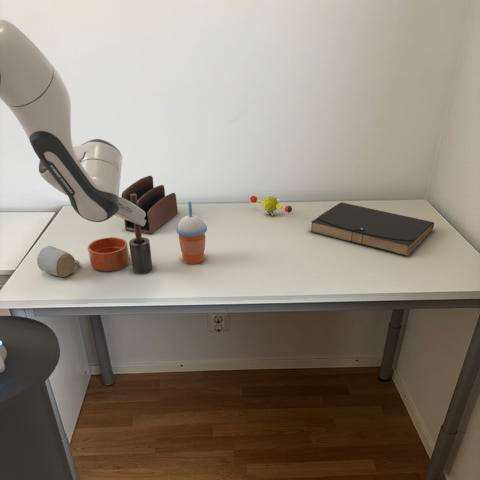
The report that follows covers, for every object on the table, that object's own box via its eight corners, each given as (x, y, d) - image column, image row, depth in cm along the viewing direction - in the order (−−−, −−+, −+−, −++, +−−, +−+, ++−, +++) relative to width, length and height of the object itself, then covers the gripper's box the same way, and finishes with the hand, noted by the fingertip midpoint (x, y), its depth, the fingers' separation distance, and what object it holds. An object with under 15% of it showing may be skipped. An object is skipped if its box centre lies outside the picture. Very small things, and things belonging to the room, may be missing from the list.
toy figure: (295, 218, 180) (296, 200, 176) (286, 223, 177) (287, 204, 173) (256, 207, 190) (256, 189, 186) (246, 211, 186) (246, 193, 183)
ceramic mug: (60, 282, 144) (55, 257, 139) (39, 275, 147) (33, 251, 143) (87, 267, 151) (82, 243, 147) (66, 261, 155) (61, 237, 151)
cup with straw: (180, 267, 150) (175, 209, 140) (176, 254, 158) (172, 197, 148) (210, 264, 152) (208, 206, 142) (206, 251, 159) (203, 195, 149)
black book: (310, 220, 168) (343, 200, 185) (309, 232, 170) (341, 211, 187) (409, 244, 152) (435, 219, 168) (406, 257, 154) (432, 231, 171)
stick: (143, 269, 148) (133, 195, 136) (138, 268, 149) (128, 195, 137) (146, 267, 149) (137, 194, 137) (142, 266, 150) (132, 193, 138)
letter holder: (125, 230, 173) (119, 190, 165) (154, 210, 189) (150, 172, 181) (151, 234, 170) (146, 193, 162) (178, 213, 186) (175, 174, 178)
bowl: (113, 275, 147) (110, 256, 143) (83, 267, 151) (79, 249, 148) (137, 259, 155) (134, 241, 152) (107, 252, 159) (104, 234, 156)
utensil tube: (145, 275, 146) (141, 246, 141) (129, 271, 148) (125, 243, 144) (156, 267, 151) (153, 239, 146) (140, 263, 153) (137, 235, 148)
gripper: (128, 191, 121) (163, 218, 133) (78, 174, 133) (114, 200, 144) (115, 214, 121) (151, 239, 133) (66, 195, 132) (104, 220, 144)
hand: (132, 219), depth 139 cm, fingers open, 8 cm apart
